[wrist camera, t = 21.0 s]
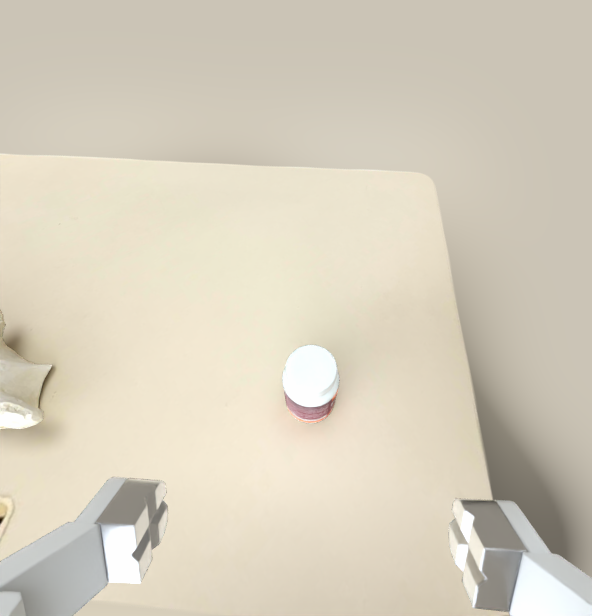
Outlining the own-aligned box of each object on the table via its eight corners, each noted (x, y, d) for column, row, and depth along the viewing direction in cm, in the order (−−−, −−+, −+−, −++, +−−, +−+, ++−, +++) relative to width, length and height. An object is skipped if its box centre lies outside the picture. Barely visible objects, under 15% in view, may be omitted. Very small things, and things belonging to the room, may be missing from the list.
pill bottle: (339, 419, 34) (349, 391, 26) (290, 428, 33) (286, 403, 26) (328, 371, 36) (334, 335, 29) (282, 380, 36) (276, 345, 29)
